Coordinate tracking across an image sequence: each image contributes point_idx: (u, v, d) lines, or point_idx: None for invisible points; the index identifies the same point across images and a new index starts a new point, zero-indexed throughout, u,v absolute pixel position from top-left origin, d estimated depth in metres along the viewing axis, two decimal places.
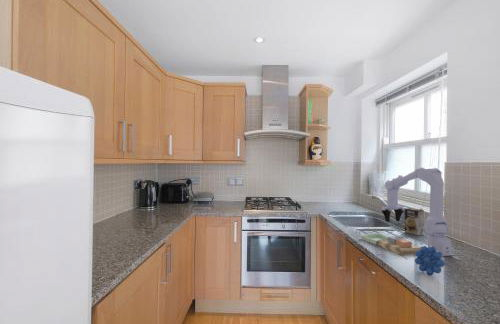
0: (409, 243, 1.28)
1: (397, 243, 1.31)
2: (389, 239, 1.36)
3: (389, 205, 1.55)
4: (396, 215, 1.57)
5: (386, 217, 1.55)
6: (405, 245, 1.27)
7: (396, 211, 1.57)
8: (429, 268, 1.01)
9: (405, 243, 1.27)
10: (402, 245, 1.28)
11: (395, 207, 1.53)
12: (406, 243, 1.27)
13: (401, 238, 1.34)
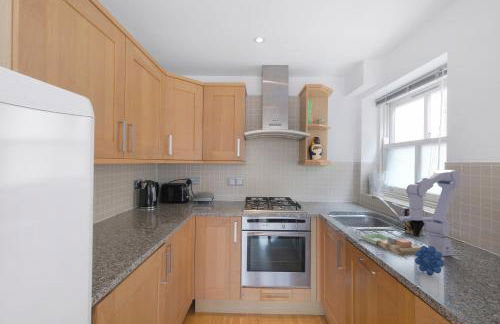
0: (409, 243, 1.28)
1: (397, 243, 1.31)
2: (389, 239, 1.36)
3: (410, 215, 1.23)
4: None
5: (414, 230, 1.23)
6: (405, 245, 1.27)
7: None
8: (429, 268, 1.01)
9: (405, 243, 1.27)
10: (402, 245, 1.28)
11: (418, 218, 1.20)
12: (406, 243, 1.27)
13: (401, 238, 1.34)
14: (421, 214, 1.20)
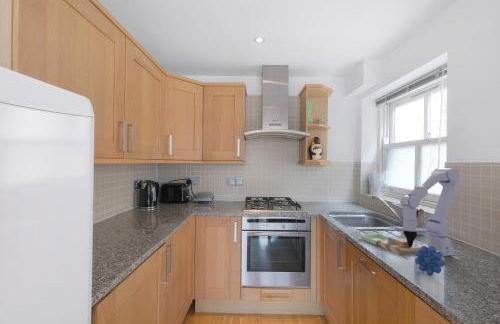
0: None
1: (396, 243, 1.31)
2: (389, 239, 1.36)
3: (403, 226, 1.27)
4: None
5: (407, 241, 1.27)
6: (404, 245, 1.28)
7: None
8: (429, 268, 1.01)
9: (404, 243, 1.28)
10: (401, 245, 1.28)
11: (409, 229, 1.24)
12: (405, 243, 1.28)
13: (401, 238, 1.34)
14: (413, 225, 1.24)
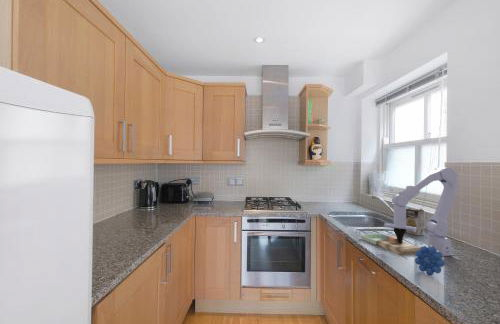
0: None
1: (389, 239, 1.37)
2: (382, 236, 1.42)
3: None
4: None
5: None
6: (396, 241, 1.34)
7: None
8: (429, 268, 1.01)
9: (396, 239, 1.34)
10: (393, 241, 1.34)
11: (397, 226, 1.30)
12: (397, 239, 1.34)
13: None
14: (401, 222, 1.30)
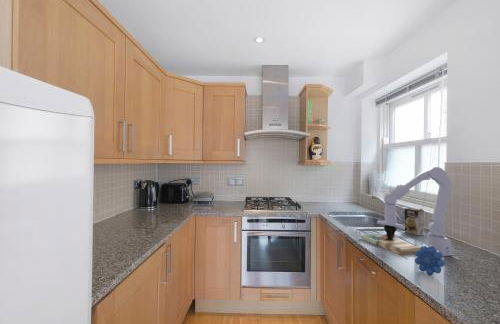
0: None
1: (383, 238, 1.44)
2: (376, 238, 1.47)
3: None
4: None
5: None
6: (387, 236, 1.40)
7: None
8: (429, 268, 1.01)
9: None
10: (385, 237, 1.41)
11: (386, 223, 1.37)
12: None
13: None
14: (389, 220, 1.36)
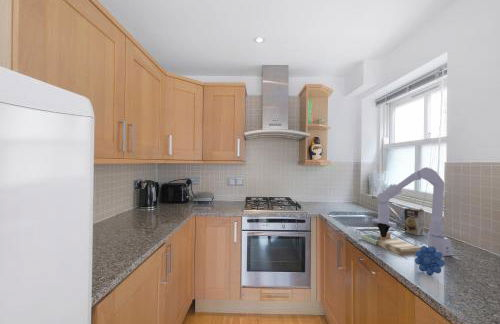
0: None
1: None
2: (375, 238, 1.48)
3: None
4: None
5: None
6: None
7: None
8: (429, 268, 1.01)
9: None
10: None
11: (379, 221, 1.43)
12: None
13: None
14: (382, 218, 1.41)
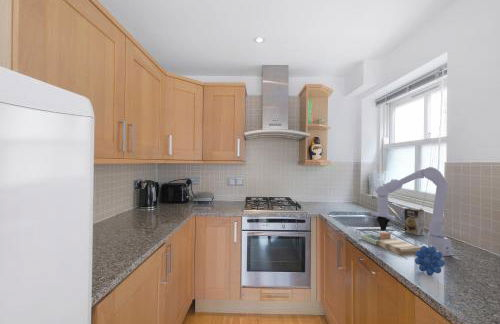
0: (386, 232, 1.47)
1: None
2: (375, 238, 1.48)
3: None
4: None
5: None
6: (383, 233, 1.45)
7: None
8: (429, 268, 1.01)
9: (382, 232, 1.46)
10: (382, 234, 1.45)
11: (378, 214, 1.43)
12: (383, 232, 1.47)
13: None
14: (381, 211, 1.42)
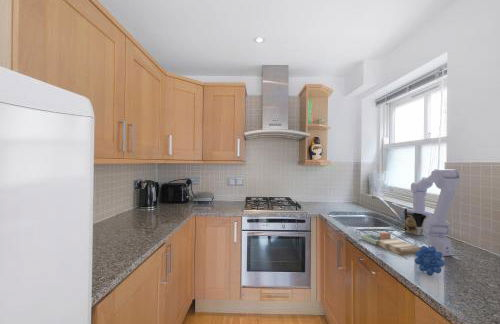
0: (386, 232, 1.47)
1: None
2: (375, 238, 1.48)
3: None
4: None
5: None
6: (383, 233, 1.45)
7: None
8: (429, 268, 1.01)
9: (382, 232, 1.46)
10: (382, 234, 1.45)
11: (414, 211, 1.44)
12: (383, 232, 1.47)
13: None
14: (417, 208, 1.43)
